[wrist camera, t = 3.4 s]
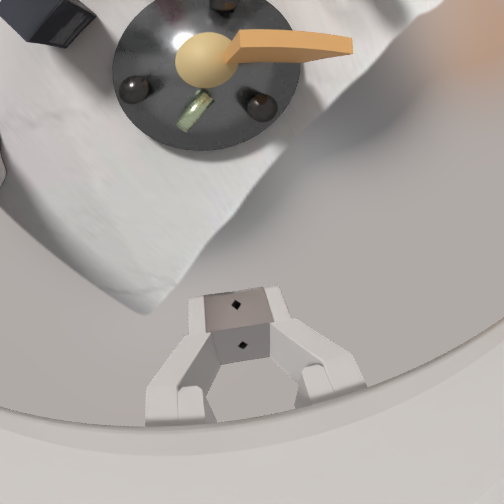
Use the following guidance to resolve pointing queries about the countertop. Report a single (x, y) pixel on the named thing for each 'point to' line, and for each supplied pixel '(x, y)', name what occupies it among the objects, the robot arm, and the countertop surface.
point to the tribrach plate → (192, 98)
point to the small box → (47, 20)
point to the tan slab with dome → (251, 52)
